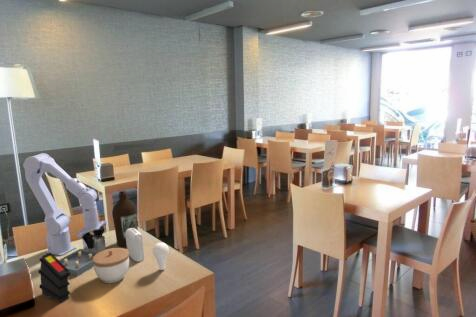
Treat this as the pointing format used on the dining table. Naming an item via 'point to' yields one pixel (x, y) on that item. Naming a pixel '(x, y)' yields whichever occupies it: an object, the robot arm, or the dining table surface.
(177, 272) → the dining table surface
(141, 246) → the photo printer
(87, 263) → the tray
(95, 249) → the block
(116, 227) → the olive oil
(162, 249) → the lightbulb
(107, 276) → the lidded bowl
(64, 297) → the black layered block
